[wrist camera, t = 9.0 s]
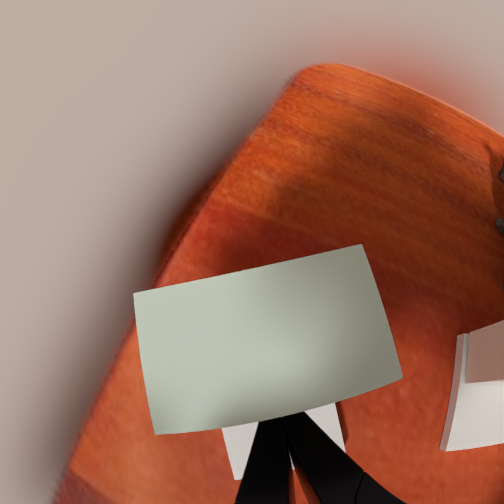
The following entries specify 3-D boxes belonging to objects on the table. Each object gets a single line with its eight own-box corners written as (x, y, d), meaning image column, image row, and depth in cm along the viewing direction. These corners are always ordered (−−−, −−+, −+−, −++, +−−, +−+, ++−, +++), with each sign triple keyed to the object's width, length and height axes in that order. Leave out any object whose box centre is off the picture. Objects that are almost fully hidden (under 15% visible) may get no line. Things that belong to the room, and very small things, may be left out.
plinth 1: (342, 451, 13) (346, 454, 12) (236, 475, 12) (234, 479, 12) (313, 328, 15) (315, 326, 15) (208, 352, 15) (205, 350, 14)
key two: (323, 378, 13) (403, 377, 5) (221, 401, 13) (155, 434, 5) (307, 317, 15) (358, 235, 6) (208, 339, 14) (132, 284, 6)
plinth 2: (499, 441, 11) (507, 442, 10) (439, 449, 12) (445, 451, 11) (513, 341, 14) (520, 338, 13) (457, 335, 14) (464, 333, 14)
